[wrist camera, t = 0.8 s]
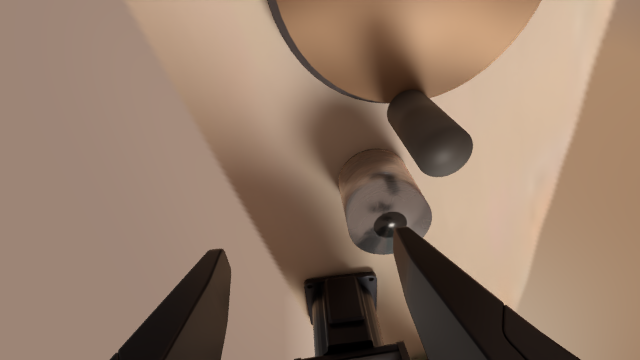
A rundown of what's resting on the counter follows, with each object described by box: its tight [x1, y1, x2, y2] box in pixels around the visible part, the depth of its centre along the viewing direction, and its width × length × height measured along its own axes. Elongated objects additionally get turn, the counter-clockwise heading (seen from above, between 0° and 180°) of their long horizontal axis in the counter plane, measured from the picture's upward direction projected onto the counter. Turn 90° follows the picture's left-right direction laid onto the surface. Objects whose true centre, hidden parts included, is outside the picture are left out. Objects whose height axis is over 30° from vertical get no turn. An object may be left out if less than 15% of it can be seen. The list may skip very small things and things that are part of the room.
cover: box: [338, 149, 432, 255], centre depth 21 cm, size 5×5×5 cm
